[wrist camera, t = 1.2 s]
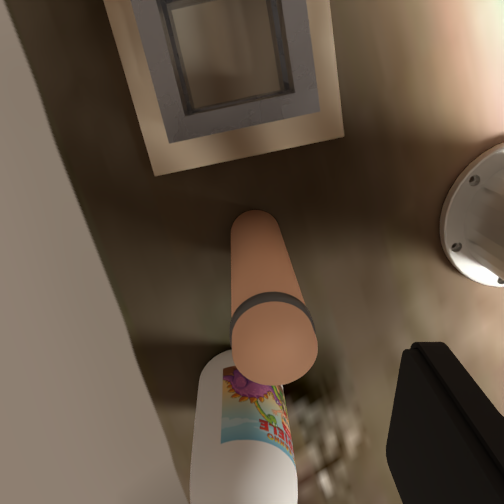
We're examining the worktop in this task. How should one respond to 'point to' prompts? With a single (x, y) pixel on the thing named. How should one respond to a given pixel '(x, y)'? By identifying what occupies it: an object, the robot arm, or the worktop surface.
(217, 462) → the milk bottle
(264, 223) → the peg
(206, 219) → the worktop surface
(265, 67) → the collar stand
